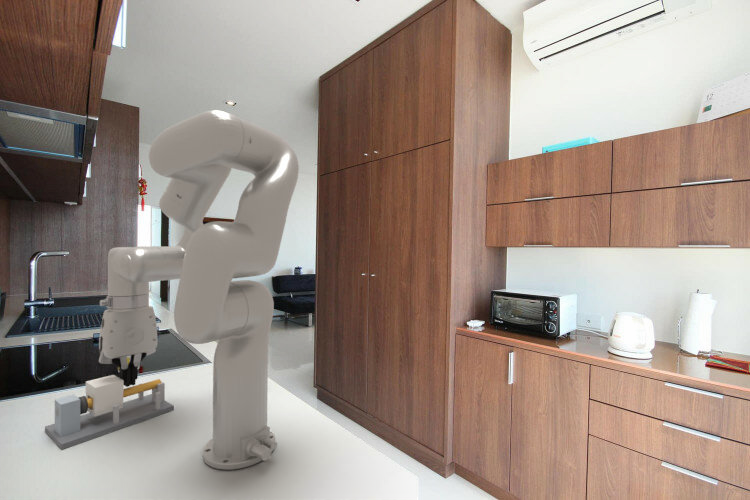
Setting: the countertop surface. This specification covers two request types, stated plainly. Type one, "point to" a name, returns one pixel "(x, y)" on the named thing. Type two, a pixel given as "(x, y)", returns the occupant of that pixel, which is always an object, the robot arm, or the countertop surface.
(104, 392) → the white sliding carriage
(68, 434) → the linear actuator
